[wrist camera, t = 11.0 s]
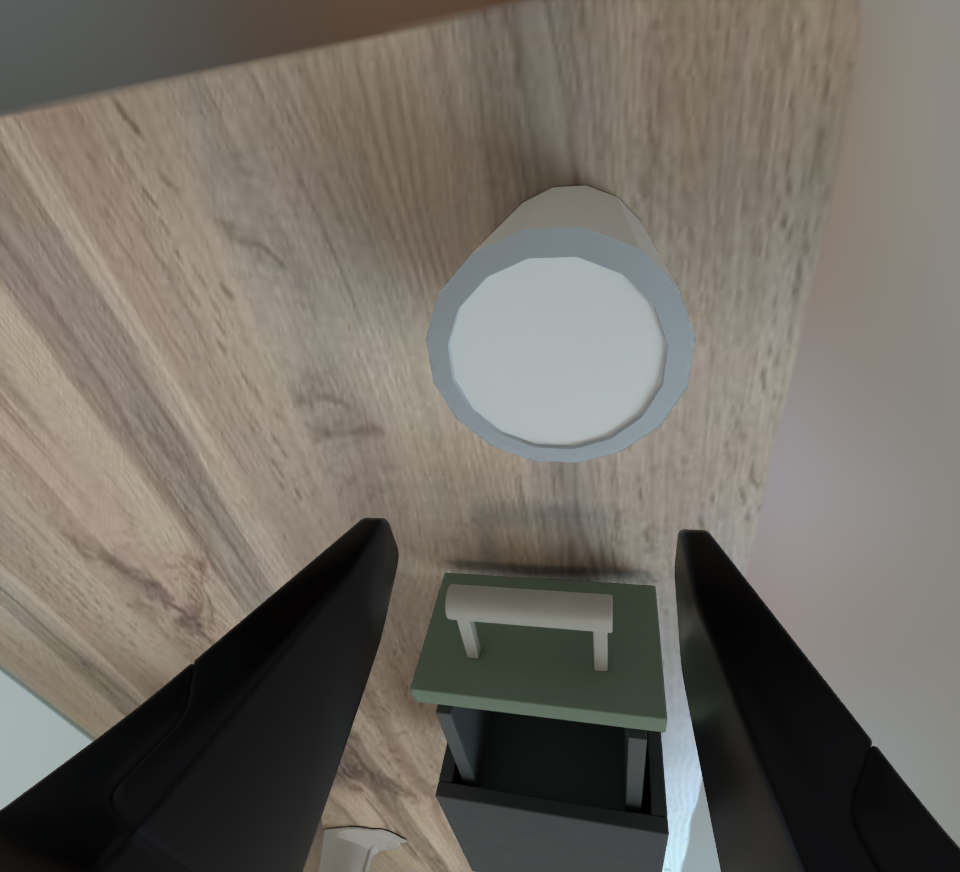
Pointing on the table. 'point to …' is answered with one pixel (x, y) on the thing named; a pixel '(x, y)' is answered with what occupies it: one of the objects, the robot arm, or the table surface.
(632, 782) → the drawer
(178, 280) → the table surface
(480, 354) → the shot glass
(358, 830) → the candle
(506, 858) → the cabinet
